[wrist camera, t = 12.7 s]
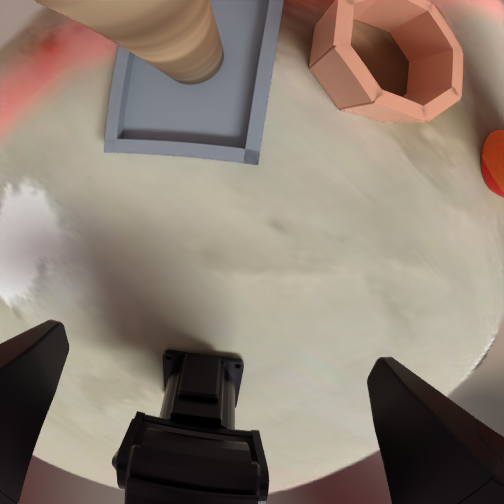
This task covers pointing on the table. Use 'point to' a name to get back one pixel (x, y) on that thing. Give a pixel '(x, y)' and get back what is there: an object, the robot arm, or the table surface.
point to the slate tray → (200, 94)
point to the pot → (412, 45)
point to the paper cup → (493, 162)
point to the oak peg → (155, 32)
